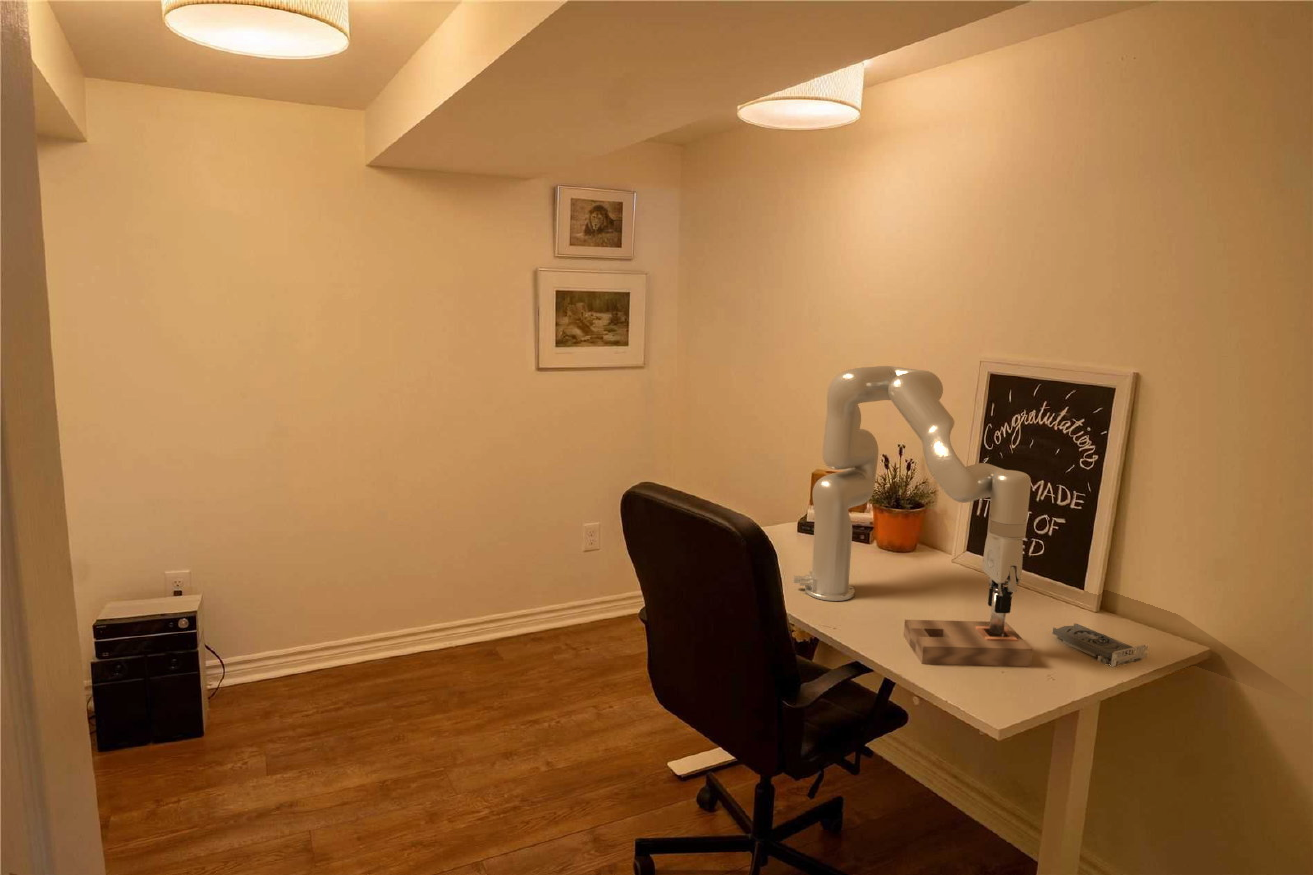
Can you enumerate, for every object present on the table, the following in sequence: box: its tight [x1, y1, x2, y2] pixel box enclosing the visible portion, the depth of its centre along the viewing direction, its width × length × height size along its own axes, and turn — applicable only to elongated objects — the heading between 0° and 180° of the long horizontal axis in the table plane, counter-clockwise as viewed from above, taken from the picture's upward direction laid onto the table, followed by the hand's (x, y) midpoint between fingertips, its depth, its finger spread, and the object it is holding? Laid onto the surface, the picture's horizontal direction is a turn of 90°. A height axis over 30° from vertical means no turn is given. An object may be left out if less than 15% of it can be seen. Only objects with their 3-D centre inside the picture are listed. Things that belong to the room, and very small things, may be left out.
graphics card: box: [1052, 623, 1148, 669], centre depth 185 cm, size 17×4×12 cm
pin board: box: [903, 619, 1033, 668], centre depth 182 cm, size 23×14×4 cm, turn 89°
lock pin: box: [989, 585, 1007, 634], centre depth 180 cm, size 3×3×10 cm
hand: (998, 608), depth 180 cm, fingers closed on lock pin, 3 cm apart
